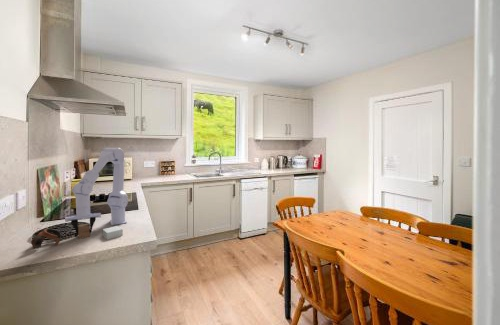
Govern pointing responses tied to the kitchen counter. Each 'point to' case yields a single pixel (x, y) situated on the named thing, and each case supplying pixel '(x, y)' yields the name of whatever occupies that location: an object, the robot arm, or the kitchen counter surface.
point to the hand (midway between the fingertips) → (84, 233)
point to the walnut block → (84, 230)
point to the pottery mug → (46, 233)
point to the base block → (112, 232)
